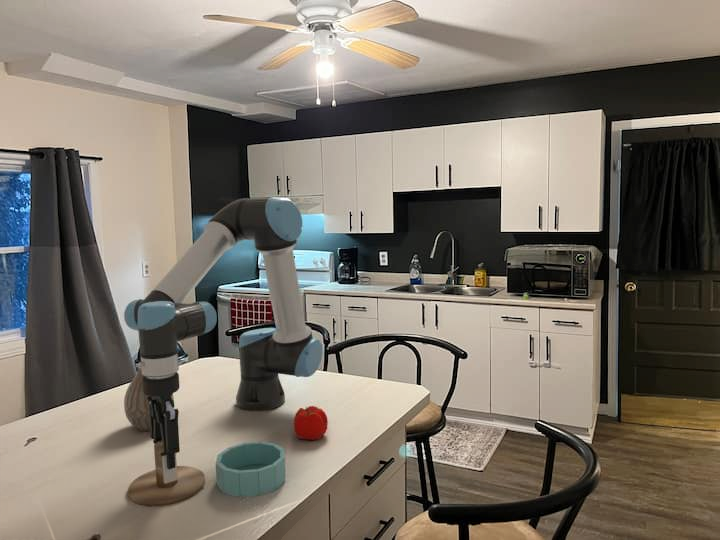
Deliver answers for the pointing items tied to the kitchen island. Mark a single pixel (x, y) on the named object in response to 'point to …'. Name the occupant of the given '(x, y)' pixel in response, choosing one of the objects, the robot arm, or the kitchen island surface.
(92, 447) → the kitchen island surface
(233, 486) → the bowl
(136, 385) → the vase
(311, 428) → the tomato
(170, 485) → the lid
